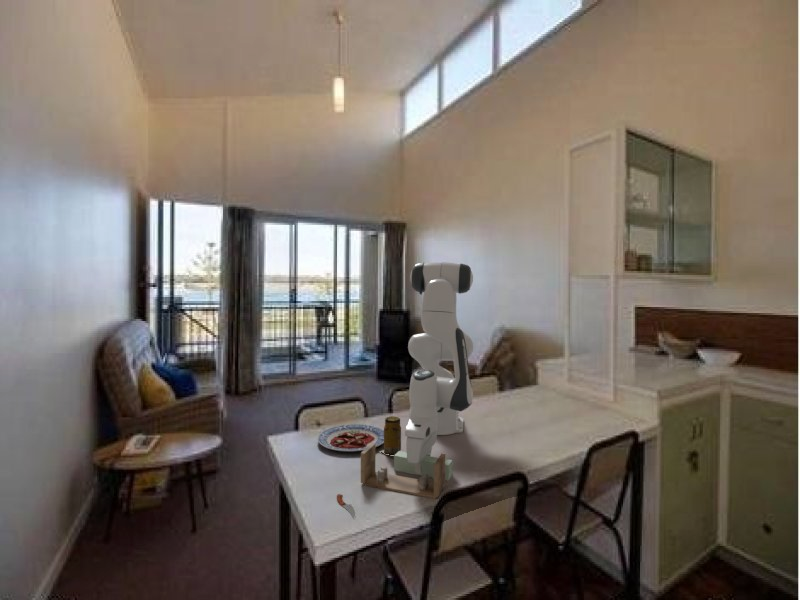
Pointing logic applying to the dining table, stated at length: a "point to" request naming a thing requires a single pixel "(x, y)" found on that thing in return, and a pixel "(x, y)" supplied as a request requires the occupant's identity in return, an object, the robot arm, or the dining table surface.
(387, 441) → the condiment
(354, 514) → the knife
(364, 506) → the dining table surface
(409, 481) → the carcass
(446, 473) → the pale green rectangular block
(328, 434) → the ceramic plate
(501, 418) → the dining table surface
